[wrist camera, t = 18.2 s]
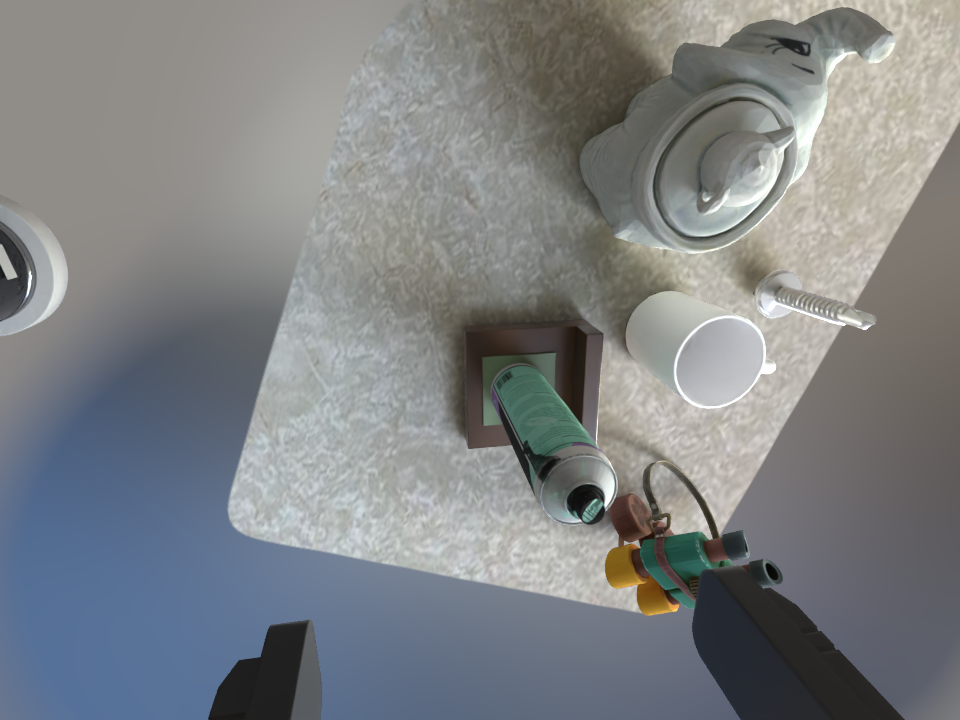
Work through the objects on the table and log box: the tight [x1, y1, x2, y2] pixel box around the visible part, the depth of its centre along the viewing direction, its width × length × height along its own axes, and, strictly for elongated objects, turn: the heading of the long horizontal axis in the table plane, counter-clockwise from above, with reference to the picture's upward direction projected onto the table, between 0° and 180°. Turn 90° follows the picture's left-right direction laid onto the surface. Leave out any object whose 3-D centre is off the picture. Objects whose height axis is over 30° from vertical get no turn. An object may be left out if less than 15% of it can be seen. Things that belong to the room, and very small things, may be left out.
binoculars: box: [605, 461, 783, 615], centre depth 54 cm, size 14×14×15 cm
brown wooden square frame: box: [463, 320, 603, 449], centre depth 51 cm, size 12×12×5 cm
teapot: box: [579, 7, 896, 254], centre depth 39 cm, size 16×15×19 cm
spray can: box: [490, 363, 618, 526], centre depth 42 cm, size 6×6×20 cm
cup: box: [626, 291, 776, 408], centre depth 50 cm, size 8×12×10 cm
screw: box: [753, 269, 876, 330], centre depth 48 cm, size 13×5×5 cm
